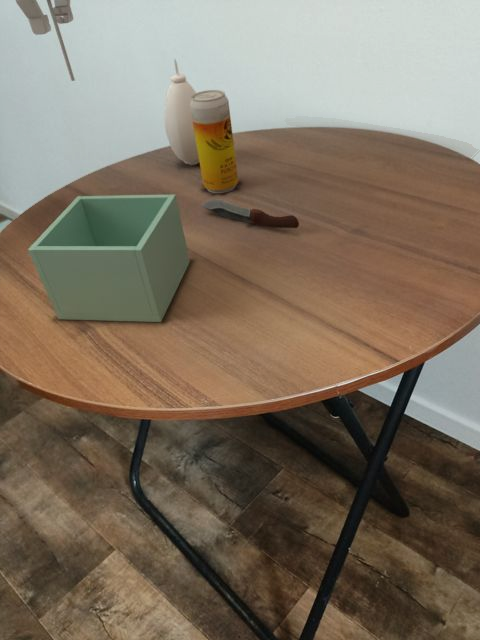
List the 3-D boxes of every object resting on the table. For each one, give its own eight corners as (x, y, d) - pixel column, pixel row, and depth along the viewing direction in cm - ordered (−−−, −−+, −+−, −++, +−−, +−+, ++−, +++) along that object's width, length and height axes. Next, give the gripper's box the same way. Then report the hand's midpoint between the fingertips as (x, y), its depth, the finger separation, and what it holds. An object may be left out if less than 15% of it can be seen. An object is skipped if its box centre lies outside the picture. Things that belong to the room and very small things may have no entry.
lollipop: (78, 87, 67) (33, -62, 57) (41, 87, 68) (-9, -57, 59) (104, 73, 71) (66, -67, 61) (68, 74, 73) (25, -62, 63)
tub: (58, 319, 65) (27, 249, 59) (99, 261, 75) (77, 195, 69) (161, 322, 63) (140, 249, 56) (190, 261, 73) (175, 194, 66)
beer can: (230, 195, 88) (217, 101, 78) (198, 193, 90) (181, 100, 80) (244, 180, 92) (233, 89, 82) (212, 178, 94) (198, 88, 84)
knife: (198, 213, 84) (195, 195, 82) (204, 209, 85) (201, 191, 83) (296, 238, 75) (295, 219, 73) (301, 233, 76) (300, 214, 74)
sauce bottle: (182, 175, 96) (161, 67, 84) (167, 162, 102) (145, 59, 90) (220, 163, 99) (205, 57, 87) (203, 152, 104) (186, 50, 92)
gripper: (28, -116, 65) (66, 14, 74) (-74, -115, 50) (-10, 48, 59) (75, -123, 64) (108, 10, 73) (-15, -124, 49) (40, 44, 58)
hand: (54, 27), depth 66 cm, fingers closed on lollipop, 5 cm apart
